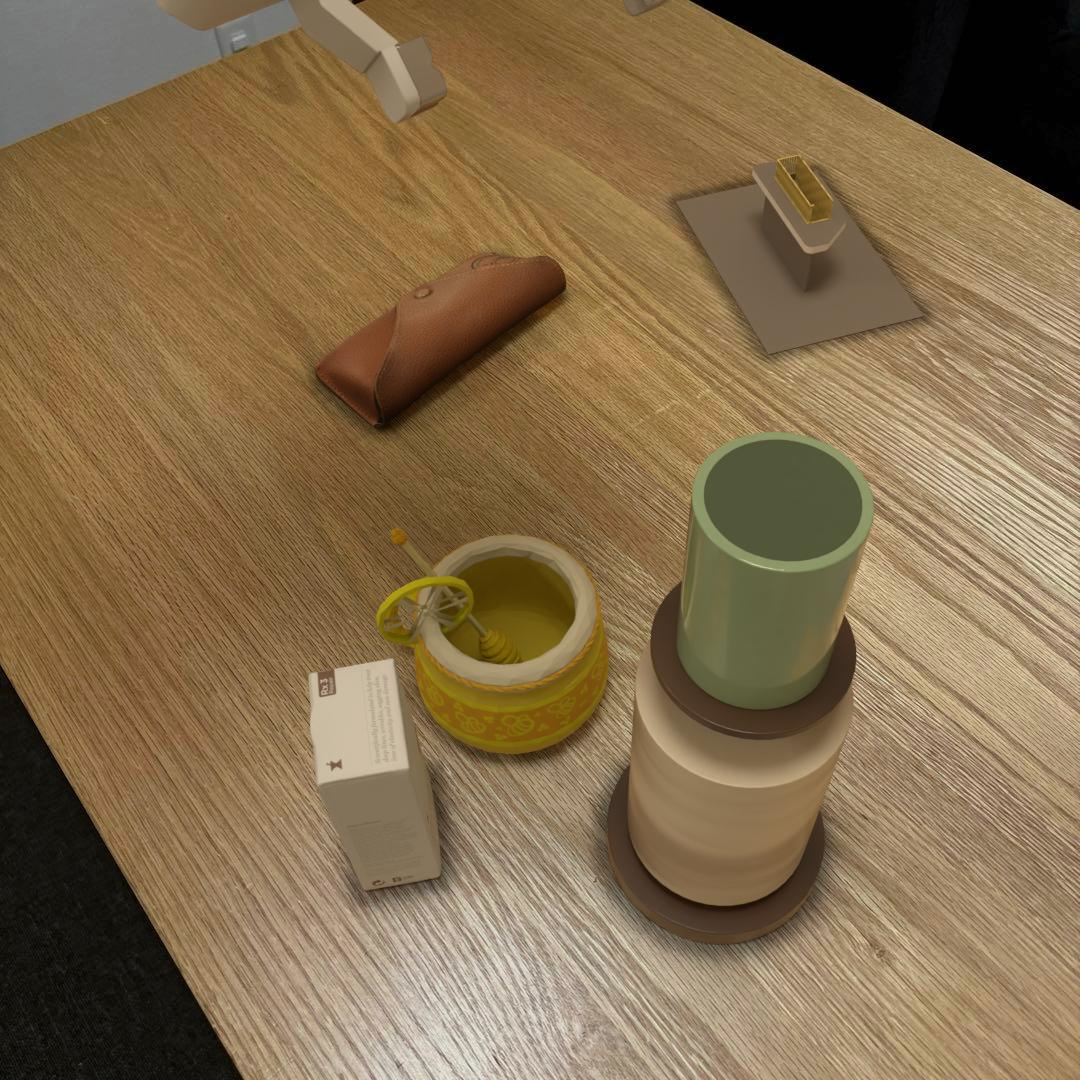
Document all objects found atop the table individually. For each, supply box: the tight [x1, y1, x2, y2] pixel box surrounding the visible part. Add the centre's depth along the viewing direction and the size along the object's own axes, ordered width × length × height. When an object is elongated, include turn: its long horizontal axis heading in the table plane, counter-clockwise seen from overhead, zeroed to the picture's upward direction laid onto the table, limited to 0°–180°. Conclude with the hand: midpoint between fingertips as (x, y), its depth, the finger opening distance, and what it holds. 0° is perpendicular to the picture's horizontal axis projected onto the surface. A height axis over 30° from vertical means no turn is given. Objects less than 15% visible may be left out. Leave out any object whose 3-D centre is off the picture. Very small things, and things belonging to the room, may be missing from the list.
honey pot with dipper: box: [375, 528, 610, 755], centre depth 63 cm, size 13×11×12 cm
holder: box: [606, 580, 858, 945], centre depth 54 cm, size 11×11×19 cm
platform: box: [675, 153, 925, 355], centre depth 86 cm, size 12×18×7 cm, turn 17°
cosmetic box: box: [307, 657, 442, 891], centre depth 58 cm, size 6×4×12 cm
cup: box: [676, 431, 875, 710], centre depth 43 cm, size 6×6×9 cm
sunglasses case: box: [313, 251, 567, 428], centre depth 84 cm, size 18×7×7 cm, turn 137°
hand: (546, 54), depth 38 cm, fingers open, 8 cm apart
